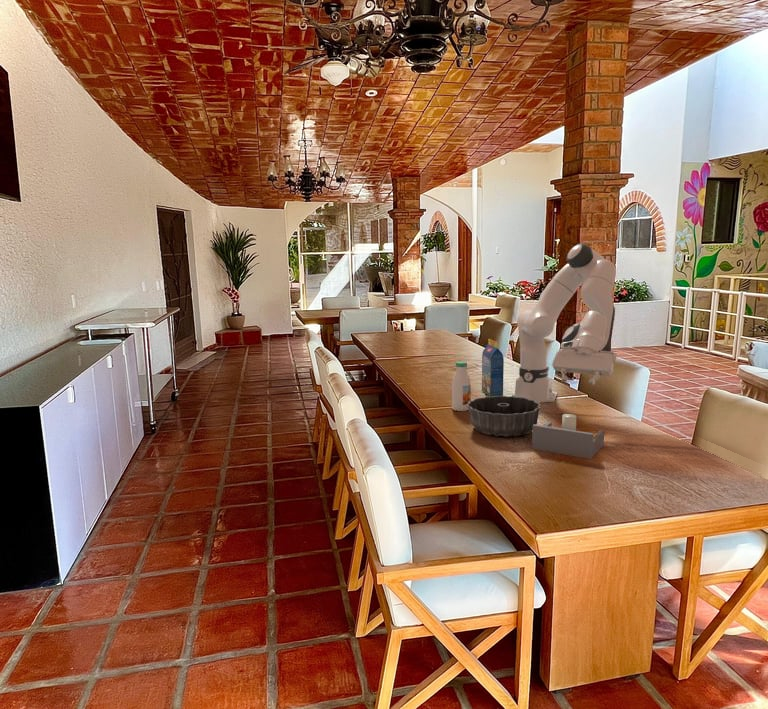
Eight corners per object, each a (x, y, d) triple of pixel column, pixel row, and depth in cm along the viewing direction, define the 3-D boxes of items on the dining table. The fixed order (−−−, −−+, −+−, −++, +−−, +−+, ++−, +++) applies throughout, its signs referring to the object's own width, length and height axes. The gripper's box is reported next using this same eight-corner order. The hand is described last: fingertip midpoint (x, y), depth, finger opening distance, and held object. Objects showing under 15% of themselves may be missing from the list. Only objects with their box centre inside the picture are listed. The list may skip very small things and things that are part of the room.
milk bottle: (456, 412, 231) (456, 364, 227) (449, 407, 238) (449, 361, 234) (473, 410, 233) (473, 363, 229) (465, 405, 240) (466, 359, 236)
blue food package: (490, 397, 253) (490, 342, 248) (481, 391, 264) (482, 338, 260) (503, 396, 254) (504, 342, 249) (494, 390, 265) (495, 338, 261)
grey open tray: (547, 434, 200) (548, 413, 199) (603, 444, 190) (604, 421, 188) (532, 448, 187) (532, 425, 185) (591, 459, 176) (592, 434, 175)
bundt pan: (451, 430, 208) (451, 403, 207) (497, 415, 225) (497, 391, 223) (509, 447, 188) (510, 418, 187) (554, 430, 205) (555, 404, 203)
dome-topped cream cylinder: (563, 437, 191) (564, 413, 189) (577, 439, 189) (578, 415, 187) (559, 441, 187) (560, 416, 186) (573, 443, 185) (574, 418, 183)
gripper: (619, 357, 195) (610, 390, 189) (561, 353, 207) (551, 384, 201) (616, 346, 191) (607, 380, 185) (556, 342, 203) (546, 374, 197)
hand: (577, 382), depth 193 cm, fingers open, 8 cm apart
